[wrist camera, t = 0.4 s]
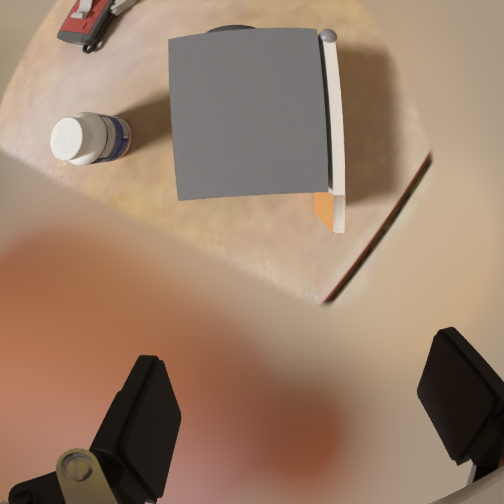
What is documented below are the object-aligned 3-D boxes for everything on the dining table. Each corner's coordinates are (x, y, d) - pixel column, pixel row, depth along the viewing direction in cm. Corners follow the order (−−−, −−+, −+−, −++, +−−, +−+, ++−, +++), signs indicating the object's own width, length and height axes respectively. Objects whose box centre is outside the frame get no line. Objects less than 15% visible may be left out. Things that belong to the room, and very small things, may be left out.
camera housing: (190, 53, 26) (168, 23, 17) (300, 46, 26) (315, 13, 17) (199, 186, 31) (178, 200, 23) (309, 180, 31) (329, 192, 22)
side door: (303, 57, 26) (319, 28, 18) (316, 57, 26) (335, 29, 18) (312, 211, 32) (331, 233, 24) (324, 211, 32) (346, 232, 24)
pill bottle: (89, 154, 30) (39, 160, 21) (102, 112, 28) (54, 105, 19) (124, 166, 30) (79, 175, 21) (139, 123, 29) (97, 116, 19)
